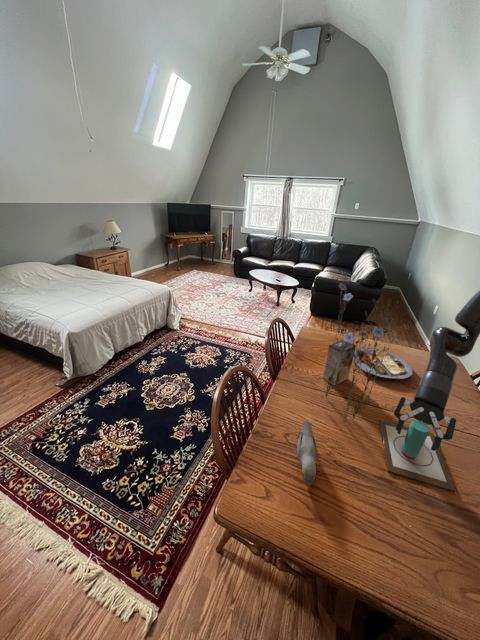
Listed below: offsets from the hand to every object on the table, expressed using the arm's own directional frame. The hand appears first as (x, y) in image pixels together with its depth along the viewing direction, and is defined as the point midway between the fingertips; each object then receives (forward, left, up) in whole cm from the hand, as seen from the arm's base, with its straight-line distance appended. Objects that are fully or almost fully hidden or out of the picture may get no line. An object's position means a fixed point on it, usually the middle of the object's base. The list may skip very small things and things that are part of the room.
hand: (415, 441), depth 76 cm
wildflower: (+19, -13, -7) cm, 24 cm away
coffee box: (+21, -32, -7) cm, 39 cm away
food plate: (+2, -50, -7) cm, 50 cm away
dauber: (0, -1, -6) cm, 6 cm away
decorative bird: (+28, +12, -7) cm, 32 cm away
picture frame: (-2, -3, -7) cm, 7 cm away
